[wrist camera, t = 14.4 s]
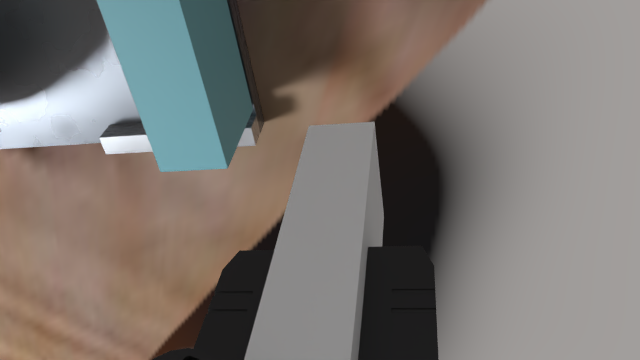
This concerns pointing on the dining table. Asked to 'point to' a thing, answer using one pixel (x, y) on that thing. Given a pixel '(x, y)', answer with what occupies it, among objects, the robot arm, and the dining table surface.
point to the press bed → (77, 79)
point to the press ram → (182, 77)
